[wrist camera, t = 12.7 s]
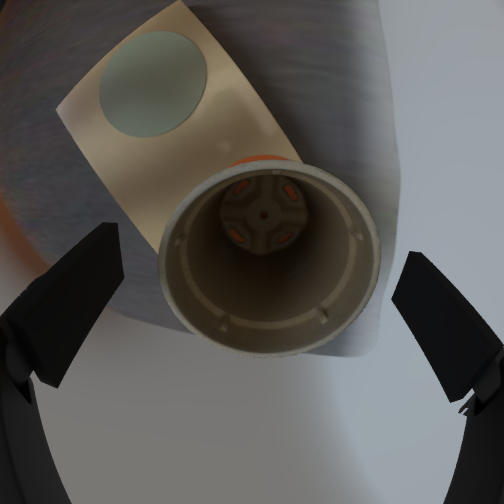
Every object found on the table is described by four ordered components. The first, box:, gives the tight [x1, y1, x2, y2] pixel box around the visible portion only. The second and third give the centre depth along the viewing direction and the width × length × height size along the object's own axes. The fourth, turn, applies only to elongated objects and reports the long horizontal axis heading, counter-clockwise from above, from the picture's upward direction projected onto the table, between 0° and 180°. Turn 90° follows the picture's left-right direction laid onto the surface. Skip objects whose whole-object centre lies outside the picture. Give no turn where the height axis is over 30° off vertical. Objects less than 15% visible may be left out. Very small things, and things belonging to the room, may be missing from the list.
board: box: [56, 0, 303, 254], centre depth 18 cm, size 21×13×2 cm, turn 33°
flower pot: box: [158, 160, 381, 358], centre depth 15 cm, size 9×9×9 cm
